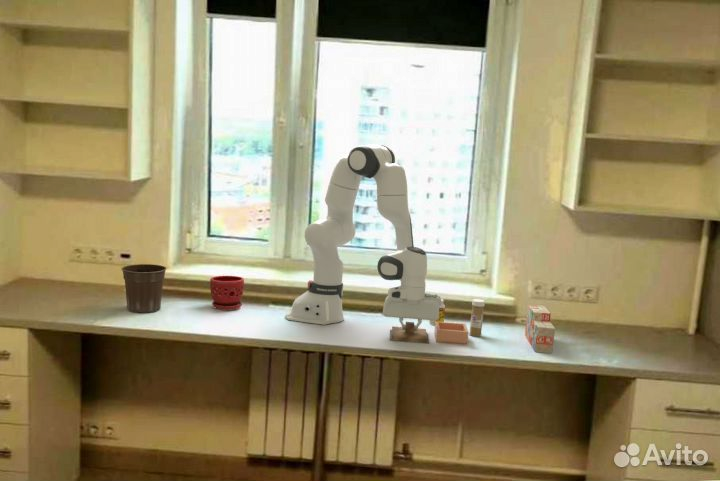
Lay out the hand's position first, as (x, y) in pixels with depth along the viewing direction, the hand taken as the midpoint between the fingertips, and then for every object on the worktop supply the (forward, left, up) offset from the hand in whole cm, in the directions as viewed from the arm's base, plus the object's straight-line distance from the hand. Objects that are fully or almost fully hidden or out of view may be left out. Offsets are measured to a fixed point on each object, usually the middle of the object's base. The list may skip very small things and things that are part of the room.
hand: (409, 330), depth 254 cm
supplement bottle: (+11, +20, -3) cm, 23 cm away
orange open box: (+15, +1, -3) cm, 15 cm away
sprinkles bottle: (+25, +10, -3) cm, 27 cm away
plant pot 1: (-101, +10, -3) cm, 102 cm away
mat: (0, 0, -3) cm, 3 cm away
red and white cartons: (+47, +5, -3) cm, 48 cm away
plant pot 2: (-72, +22, -3) cm, 75 cm away
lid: (0, 0, -2) cm, 2 cm away
